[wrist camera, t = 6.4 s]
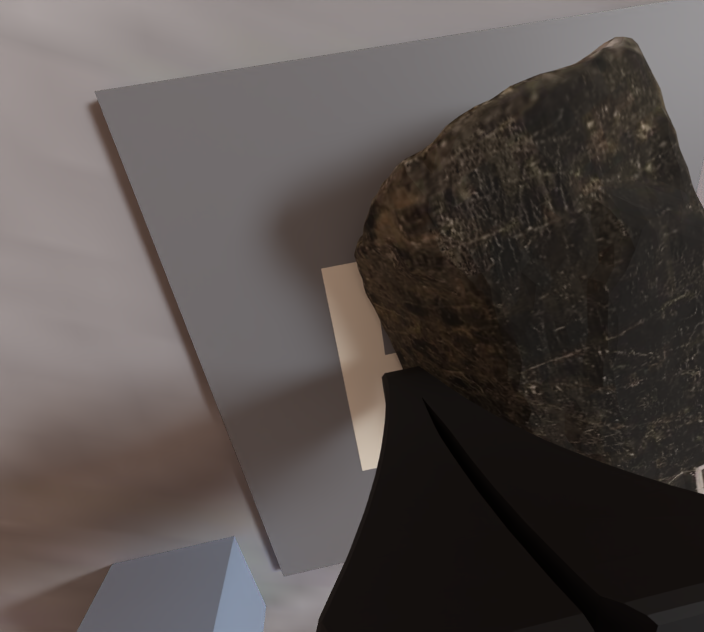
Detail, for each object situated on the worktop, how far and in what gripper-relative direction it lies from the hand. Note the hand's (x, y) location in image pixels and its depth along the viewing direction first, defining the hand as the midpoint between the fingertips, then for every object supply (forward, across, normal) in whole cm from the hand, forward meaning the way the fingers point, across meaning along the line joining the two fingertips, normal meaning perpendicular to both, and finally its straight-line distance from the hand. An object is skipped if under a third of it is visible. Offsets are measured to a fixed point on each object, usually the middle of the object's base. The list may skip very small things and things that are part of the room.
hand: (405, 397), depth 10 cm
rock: (+2, -5, 0) cm, 5 cm away
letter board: (+2, -2, 0) cm, 3 cm away
